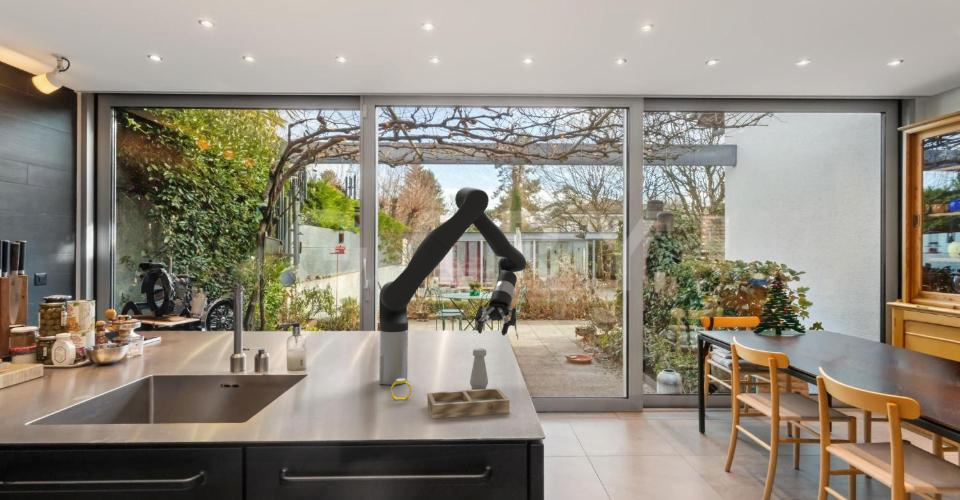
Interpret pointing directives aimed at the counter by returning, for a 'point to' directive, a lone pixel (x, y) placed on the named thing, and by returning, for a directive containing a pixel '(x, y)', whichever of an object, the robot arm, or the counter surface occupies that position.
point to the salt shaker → (479, 370)
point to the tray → (467, 403)
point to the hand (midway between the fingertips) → (491, 333)
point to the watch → (401, 382)
